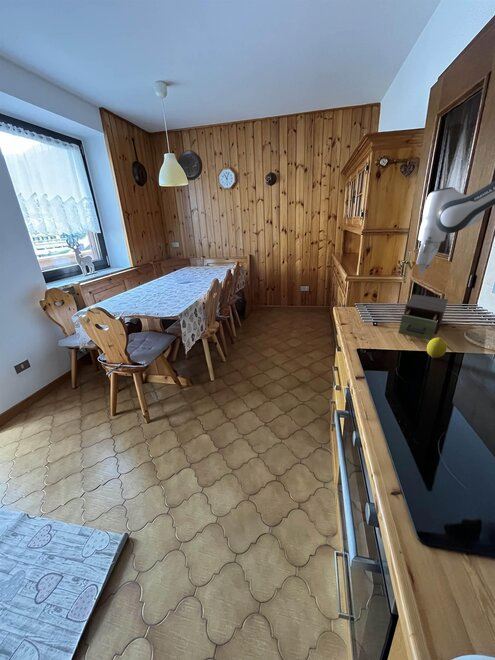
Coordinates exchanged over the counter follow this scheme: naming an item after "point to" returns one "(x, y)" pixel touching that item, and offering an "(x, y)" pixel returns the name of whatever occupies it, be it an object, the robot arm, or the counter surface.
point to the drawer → (419, 324)
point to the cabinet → (428, 306)
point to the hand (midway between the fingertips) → (424, 271)
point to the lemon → (436, 347)
